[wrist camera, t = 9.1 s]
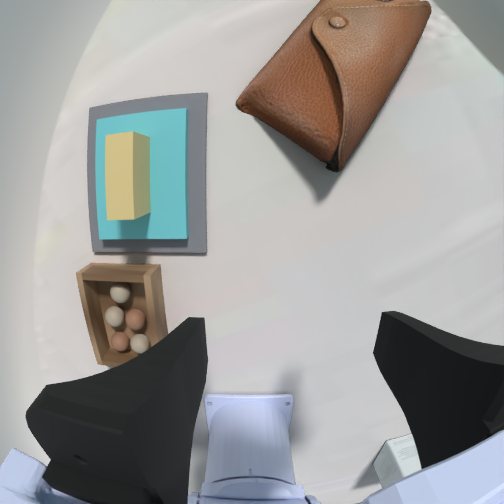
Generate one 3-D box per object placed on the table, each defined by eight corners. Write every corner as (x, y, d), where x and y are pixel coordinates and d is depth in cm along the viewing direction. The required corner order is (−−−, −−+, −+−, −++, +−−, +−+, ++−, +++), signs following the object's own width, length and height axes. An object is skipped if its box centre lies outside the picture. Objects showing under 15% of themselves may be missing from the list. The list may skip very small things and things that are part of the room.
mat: (207, 251, 20) (206, 252, 20) (94, 250, 20) (92, 251, 19) (207, 93, 17) (207, 92, 17) (91, 108, 17) (89, 107, 17)
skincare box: (371, 463, 28) (386, 503, 21) (386, 439, 27) (405, 481, 20) (407, 454, 28) (424, 489, 21) (424, 428, 27) (445, 466, 20)
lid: (188, 236, 19) (176, 250, 16) (104, 237, 19) (78, 250, 16) (188, 110, 17) (175, 96, 13) (101, 121, 17) (74, 112, 13)
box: (171, 355, 22) (164, 373, 20) (108, 348, 22) (97, 364, 20) (160, 264, 20) (150, 275, 18) (91, 262, 20) (76, 272, 18)
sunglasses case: (340, -34, 13) (401, -47, 8) (384, 18, 18) (442, 19, 13) (227, 110, 17) (282, 119, 12) (295, 158, 22) (356, 184, 17)
